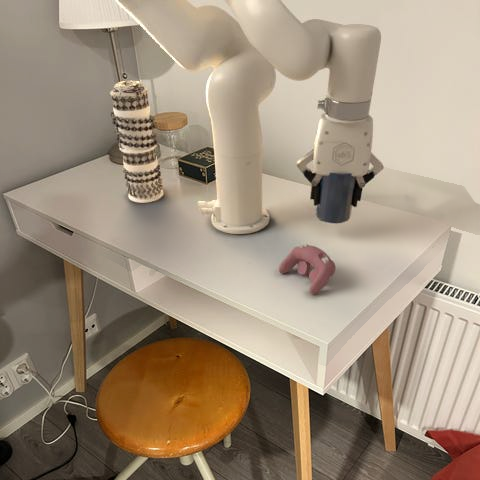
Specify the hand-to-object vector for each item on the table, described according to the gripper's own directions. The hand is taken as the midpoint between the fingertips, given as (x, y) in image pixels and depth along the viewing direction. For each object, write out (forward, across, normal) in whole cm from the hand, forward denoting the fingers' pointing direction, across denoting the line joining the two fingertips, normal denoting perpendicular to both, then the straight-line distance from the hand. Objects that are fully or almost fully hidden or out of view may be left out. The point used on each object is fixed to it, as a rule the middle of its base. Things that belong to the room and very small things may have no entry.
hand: (334, 202), depth 95 cm
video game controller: (+7, -5, -16) cm, 19 cm away
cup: (+3, 0, 0) cm, 3 cm away
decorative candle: (+9, -43, +19) cm, 48 cm away
